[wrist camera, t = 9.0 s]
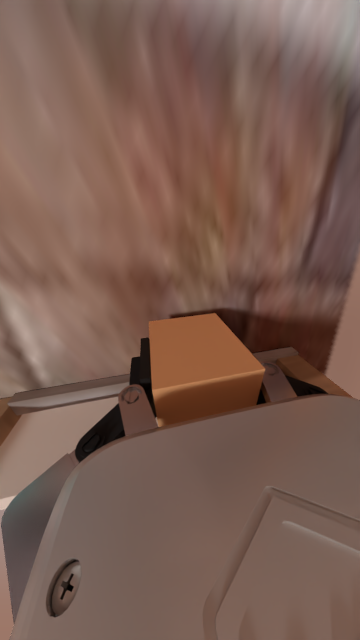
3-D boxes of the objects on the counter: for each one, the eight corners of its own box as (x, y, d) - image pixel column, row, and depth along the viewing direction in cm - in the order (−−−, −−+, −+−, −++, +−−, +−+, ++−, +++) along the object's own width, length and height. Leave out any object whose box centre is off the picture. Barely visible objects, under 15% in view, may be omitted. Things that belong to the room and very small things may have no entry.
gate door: (22, 414, 14) (-44, 510, 9) (276, 367, 17) (328, 418, 12) (34, 429, 15) (-19, 523, 10) (272, 382, 18) (318, 435, 13)
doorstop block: (148, 321, 12) (152, 390, 7) (215, 313, 13) (265, 368, 7) (156, 373, 14) (163, 453, 9) (212, 363, 15) (248, 432, 10)
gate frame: (-18, 398, 14) (-177, 558, 7) (291, 346, 18) (382, 415, 11) (0, 419, 16) (-119, 571, 8) (285, 366, 20) (363, 438, 13)
